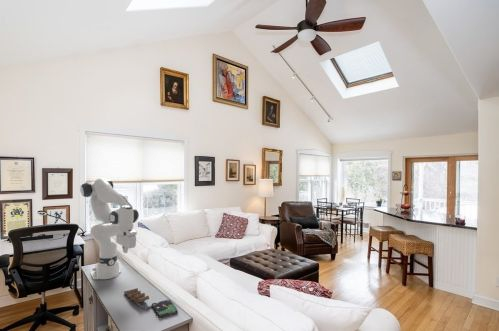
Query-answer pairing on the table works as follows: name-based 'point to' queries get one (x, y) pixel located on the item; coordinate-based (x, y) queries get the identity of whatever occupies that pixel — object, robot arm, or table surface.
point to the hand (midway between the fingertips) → (125, 252)
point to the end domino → (145, 304)
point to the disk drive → (164, 308)
